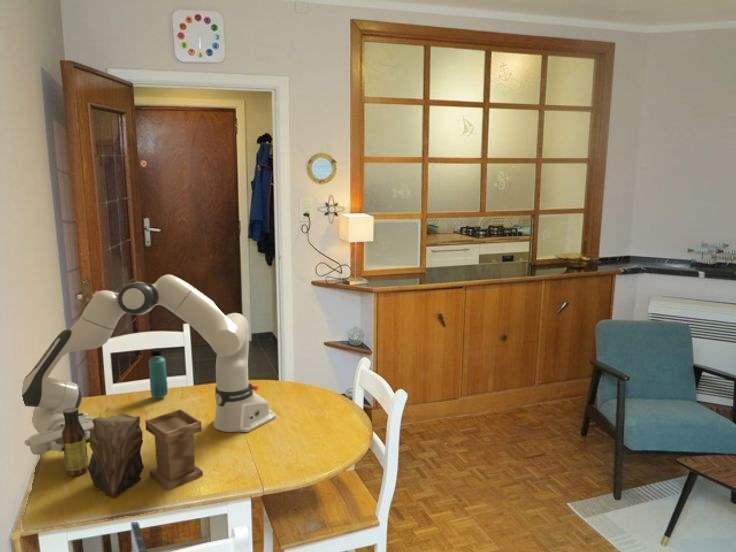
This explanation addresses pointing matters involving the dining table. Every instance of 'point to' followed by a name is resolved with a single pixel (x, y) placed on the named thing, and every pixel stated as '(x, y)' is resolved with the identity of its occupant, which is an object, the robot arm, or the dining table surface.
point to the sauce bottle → (74, 443)
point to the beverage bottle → (157, 374)
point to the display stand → (174, 448)
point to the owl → (115, 453)
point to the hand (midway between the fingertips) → (75, 444)
